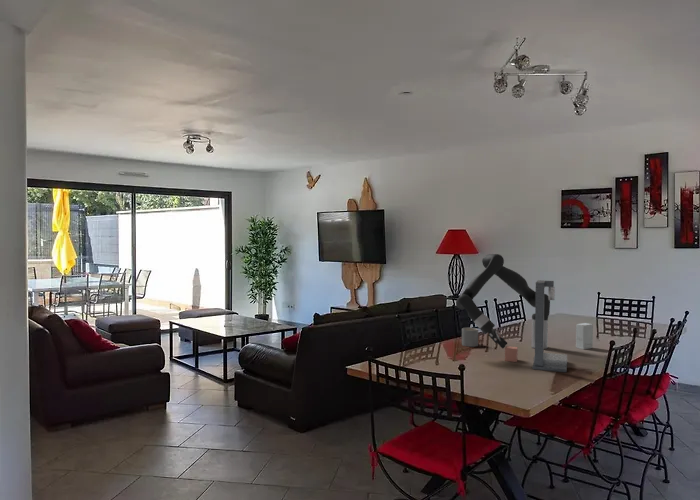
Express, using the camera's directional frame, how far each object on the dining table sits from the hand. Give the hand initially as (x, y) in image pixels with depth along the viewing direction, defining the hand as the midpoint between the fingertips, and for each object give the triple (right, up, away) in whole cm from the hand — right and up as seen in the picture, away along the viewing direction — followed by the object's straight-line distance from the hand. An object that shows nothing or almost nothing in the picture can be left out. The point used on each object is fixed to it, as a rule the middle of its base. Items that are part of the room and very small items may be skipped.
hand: (505, 346), depth 285 cm
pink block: (+3, -8, -1) cm, 8 cm away
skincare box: (+57, -7, +32) cm, 66 cm away
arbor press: (+20, -8, -13) cm, 25 cm away
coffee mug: (-9, -7, +41) cm, 43 cm away
